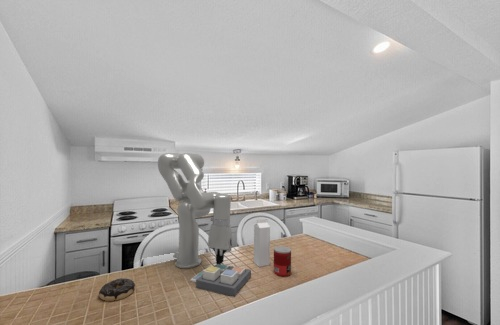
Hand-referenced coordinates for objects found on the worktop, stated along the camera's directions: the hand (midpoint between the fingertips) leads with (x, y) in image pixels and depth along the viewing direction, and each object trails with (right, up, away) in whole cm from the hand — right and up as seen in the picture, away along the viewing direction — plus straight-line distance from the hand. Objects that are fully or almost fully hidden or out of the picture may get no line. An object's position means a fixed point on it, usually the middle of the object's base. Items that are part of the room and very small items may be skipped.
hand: (219, 262), depth 101 cm
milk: (+20, -6, +13) cm, 24 cm away
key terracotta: (+8, -5, -4) cm, 10 cm away
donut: (-36, -5, -16) cm, 40 cm away
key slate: (+5, -2, -11) cm, 12 cm away
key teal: (+1, -5, -1) cm, 5 cm away
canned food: (+28, -6, +3) cm, 29 cm away
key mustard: (-2, -2, -8) cm, 9 cm away
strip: (-8, -5, -1) cm, 10 cm away
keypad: (+3, -5, -6) cm, 9 cm away
